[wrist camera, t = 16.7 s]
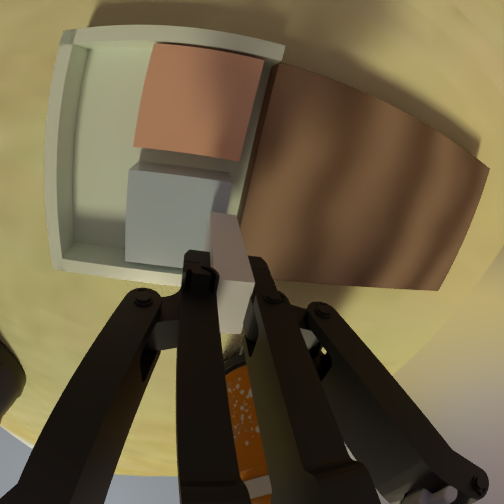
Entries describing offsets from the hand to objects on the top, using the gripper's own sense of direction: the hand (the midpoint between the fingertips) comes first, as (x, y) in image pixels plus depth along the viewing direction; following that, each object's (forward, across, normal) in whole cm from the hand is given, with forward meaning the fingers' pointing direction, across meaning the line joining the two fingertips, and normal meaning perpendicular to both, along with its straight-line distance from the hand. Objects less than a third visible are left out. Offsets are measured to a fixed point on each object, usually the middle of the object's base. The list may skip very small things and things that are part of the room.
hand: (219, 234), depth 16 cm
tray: (+4, -5, +4) cm, 7 cm away
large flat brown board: (+4, +12, +4) cm, 13 cm away
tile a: (+3, -3, +7) cm, 8 cm away
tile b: (+3, -3, 0) cm, 4 cm away
